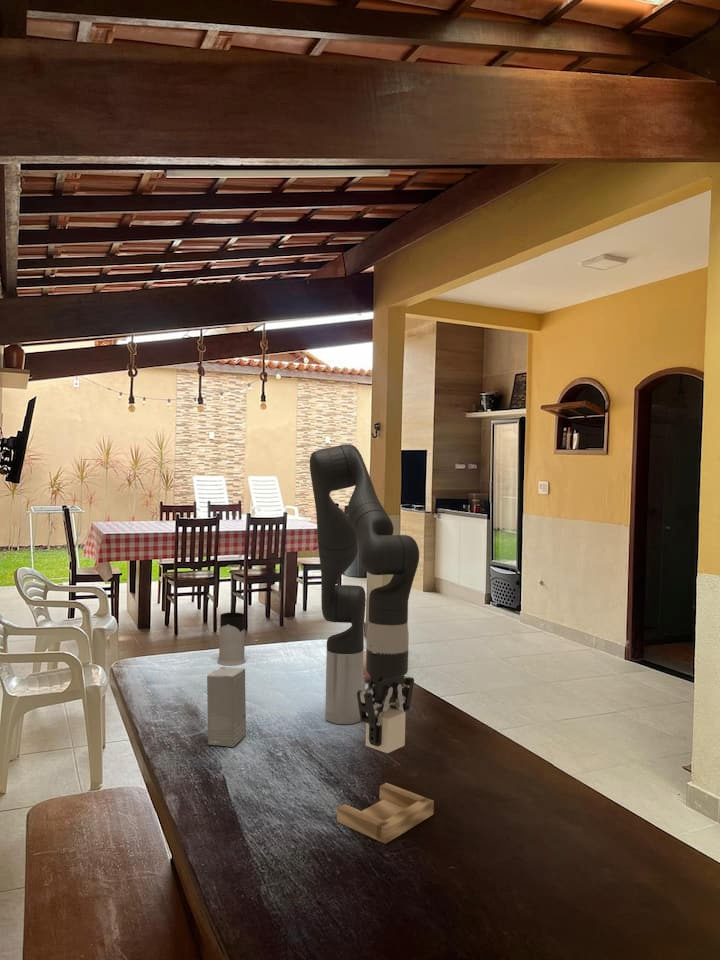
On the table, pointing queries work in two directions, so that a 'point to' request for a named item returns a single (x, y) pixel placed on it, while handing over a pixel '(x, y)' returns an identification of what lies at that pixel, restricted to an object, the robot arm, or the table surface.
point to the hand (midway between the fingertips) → (385, 740)
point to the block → (390, 731)
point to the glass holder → (231, 639)
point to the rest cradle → (387, 814)
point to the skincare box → (226, 706)
